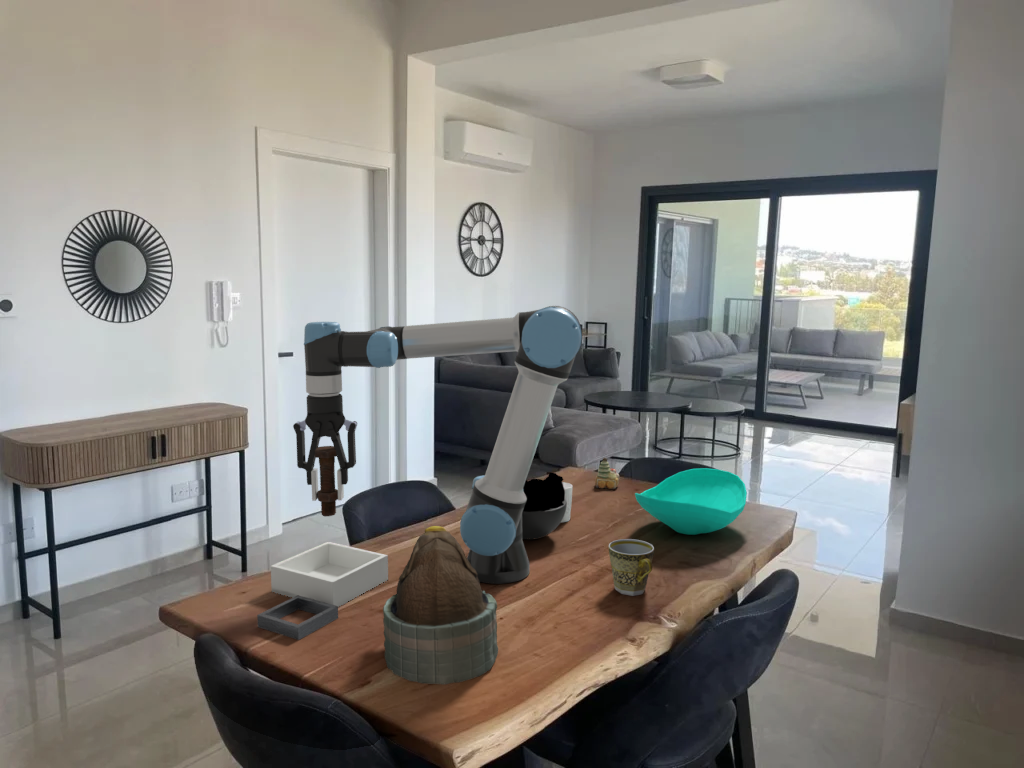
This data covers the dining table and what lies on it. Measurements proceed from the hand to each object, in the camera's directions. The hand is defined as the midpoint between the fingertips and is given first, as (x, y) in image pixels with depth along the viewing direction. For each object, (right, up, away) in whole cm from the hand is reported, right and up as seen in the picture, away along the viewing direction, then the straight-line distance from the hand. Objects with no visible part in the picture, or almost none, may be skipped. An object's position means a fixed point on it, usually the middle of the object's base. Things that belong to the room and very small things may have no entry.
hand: (328, 498), depth 167 cm
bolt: (0, -4, +1) cm, 4 cm away
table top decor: (+89, -15, +43) cm, 100 cm away
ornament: (+72, -9, +86) cm, 113 cm away
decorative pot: (+27, -25, -25) cm, 44 cm away
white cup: (+54, -14, +52) cm, 76 cm away
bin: (0, -20, +4) cm, 21 cm away
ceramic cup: (+67, -21, +1) cm, 70 cm away
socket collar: (-3, -23, -14) cm, 27 cm away
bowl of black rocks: (+45, -16, +37) cm, 60 cm away
